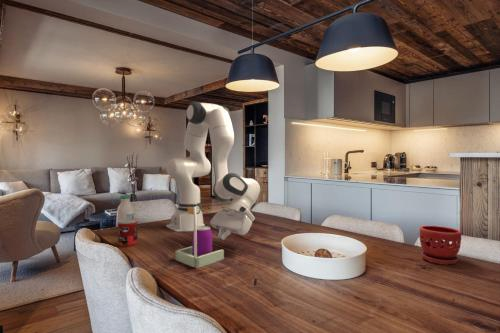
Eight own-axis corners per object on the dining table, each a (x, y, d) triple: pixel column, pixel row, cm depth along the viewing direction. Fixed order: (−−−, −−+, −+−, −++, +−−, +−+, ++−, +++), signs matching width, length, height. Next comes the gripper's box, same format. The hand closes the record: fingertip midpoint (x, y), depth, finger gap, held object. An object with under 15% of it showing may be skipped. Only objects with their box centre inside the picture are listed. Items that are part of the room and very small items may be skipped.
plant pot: (466, 268, 105) (466, 234, 105) (422, 264, 110) (423, 231, 109) (455, 256, 117) (455, 225, 117) (416, 253, 122) (417, 223, 121)
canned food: (115, 245, 137) (114, 220, 137) (132, 241, 143) (132, 218, 143) (123, 248, 132) (122, 223, 132) (140, 244, 138) (140, 220, 137)
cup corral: (175, 259, 117) (174, 203, 116) (202, 251, 126) (201, 200, 126) (196, 268, 108) (195, 207, 107) (223, 259, 117) (223, 203, 116)
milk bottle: (121, 237, 151) (120, 196, 150) (115, 234, 157) (114, 195, 156) (136, 234, 156) (135, 195, 155) (131, 231, 162) (130, 194, 161)
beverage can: (211, 261, 114) (210, 229, 114) (190, 262, 114) (190, 230, 114) (213, 255, 122) (212, 225, 122) (194, 255, 122) (193, 225, 122)
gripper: (217, 204, 137) (200, 230, 130) (250, 209, 123) (233, 238, 116) (225, 213, 140) (208, 238, 134) (258, 219, 126) (241, 247, 120)
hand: (220, 238), depth 125 cm, fingers closed
